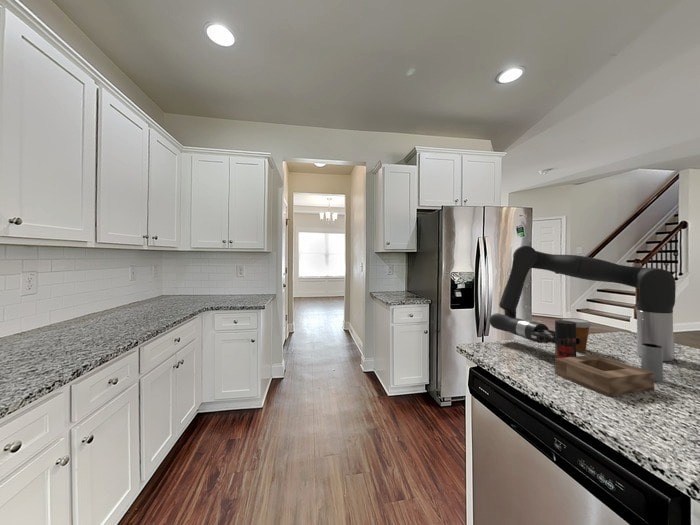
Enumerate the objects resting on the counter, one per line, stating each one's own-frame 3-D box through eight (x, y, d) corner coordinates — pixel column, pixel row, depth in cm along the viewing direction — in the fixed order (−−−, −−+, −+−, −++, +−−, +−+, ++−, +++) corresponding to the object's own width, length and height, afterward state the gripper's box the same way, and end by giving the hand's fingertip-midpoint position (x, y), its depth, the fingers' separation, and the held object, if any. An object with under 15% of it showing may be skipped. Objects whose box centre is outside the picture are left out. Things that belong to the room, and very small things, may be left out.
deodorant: (551, 361, 104) (550, 320, 104) (566, 361, 104) (566, 319, 104) (564, 368, 98) (564, 324, 98) (580, 367, 98) (580, 323, 98)
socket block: (594, 369, 96) (594, 354, 96) (654, 390, 80) (653, 372, 80) (555, 373, 93) (554, 358, 93) (608, 396, 77) (608, 378, 77)
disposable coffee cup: (578, 353, 112) (578, 323, 112) (555, 346, 121) (555, 318, 121) (597, 351, 114) (597, 321, 114) (573, 345, 124) (573, 317, 123)
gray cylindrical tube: (667, 382, 86) (667, 347, 85) (649, 381, 86) (649, 347, 86) (654, 376, 90) (654, 343, 90) (637, 375, 91) (637, 342, 91)
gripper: (516, 322, 113) (554, 332, 97) (546, 320, 116) (589, 330, 100) (516, 341, 113) (555, 354, 97) (546, 338, 116) (589, 351, 100)
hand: (572, 342), depth 99 cm, fingers closed on deodorant, 6 cm apart
